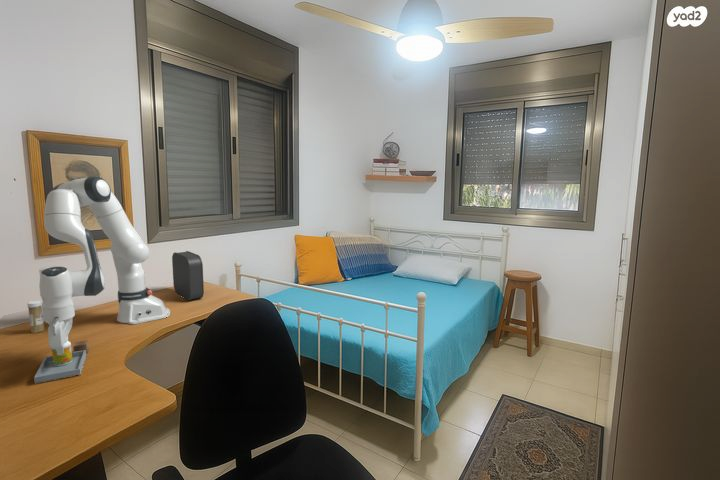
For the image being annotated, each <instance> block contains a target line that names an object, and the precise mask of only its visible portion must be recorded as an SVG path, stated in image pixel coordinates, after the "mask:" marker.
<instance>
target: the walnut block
mask: <svg viewBox="0 0 720 480" xmlns="http://www.w3.org/2000/svg"><path fill="white" fill-rule="evenodd" d="M72 346H73V352H77V351H83V350H86V355H88V353H89V342H88V340H80V341H74V343H73V345H72Z"/></svg>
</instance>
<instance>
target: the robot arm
mask: <svg viewBox="0 0 720 480" xmlns="http://www.w3.org/2000/svg"><path fill="white" fill-rule="evenodd" d="M87 206H89V207H90V210H91V212H92V213H93V215H94V217H95V220H96V221H97V223H98V225H99V227H100V228H101V230H102V232H103V233H104V234H105V235H106V237H107V238H108V239H109V240H110V242H111V243H110V247H109V248H110V252H111V254H112V259H113V263H114V268H115V271H116V275H117V276H116V277H117V287H118V291H117V301H118V314H117V317H116V321H117V322H118V323H122V324H130V325H137V324H142V323H147V322H153V321H157V320H161V319H165V318H166V317H167V318H168V317H170V315H171V310H170V308H168V307H166V306H165V303H164V301H163V300H162V299H160V298H159V297H157V296H154V295H152V294H153V292H152V290H151V288H150V287H146V274H145V273H146V272H145V270H144V268H143V265H142V263H144V262H145V261H146V260H147V259H148V258H149V257H150V248H149V247H148V246H147V244H146V243H145V242H144V241H143V239H142V237H141V236H140V234H139V233H138V232H137V230H136V229H135V227H134V226H133V225H132V223H131V221H130V219H129V217H128V216H127V214H126V211H125V210H124V208H123V206H122V205H121V203H120V201H119V200H118V198H117V197H116V195H115V194H114V193H113V192H112V190H111V186H110V184H109V182H108V181H106V180H105V179H104V178H103V177H102V176H101V177H100V176H89V177H82V178H77V179H73V180H69V181H67V182H62V183H59V184H57V185H56V186H54V187H53V188H52V189H51V191H50V192H49V193H48V194H47V196H46V199H45V205H44V210H43V211H44V214H43V224H44V229H45V232H47V234H49V236H51V237H53V238H54V239H57V240H58V241H62V242H66V243H70V244H74V245H77V246H79V247H80V248H81V249H82V252H83V255H84V260H85V265H86V269H84V270H83V269H82V270H70V271H69V269H68V268H67V267H65V266H50V267H51V268H47V269H45V270H43V271H42V272H41V274H40V273H39V295H40V297H41V303H42V305H41V308H42V314H43V322H48V323H47V324H48V325H49V326H48V329H47V330H48V331H47V334H48V335H47V337H48V346H49V348H50V349H51V350H52V348H55V349H56V351H57V355H63V354H64V348H63V345H64V343H65V340H66V338H67V336H68V337H69V334H70V332H71V329H72V328H73V320H74V319H73V318H74V317H75V315H76V311H75V302H74V299H73V297H75V298H76V297H95V296H97V295H99V294H101V293H102V292H103V291H104V290H105V287H106V278H105V275H104V274H103V271H102V268H101V264H100V259H99V255H98V250H97V247H96V244H95V240H94V236H93V233H92V232H91V230H89V229H88V228H85V227H84V224H83V223H82V213H81V208H83V207H87Z"/></svg>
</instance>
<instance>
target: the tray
mask: <svg viewBox="0 0 720 480" xmlns="http://www.w3.org/2000/svg"><path fill="white" fill-rule="evenodd" d="M87 355H88V354H86V350H83V351H77V352H74V351H72V362H71V363H69V364H66V365H63V366H55V365H54V363H53V355H48V356H45V357H44V358H43V360H42V361H41V363H40V365H39V368H38V369H37V372H36V373H35V375H34V377H33V380H34V384H35V383H39V384H41V383H40V382H44V381H50V380H55V379H60V378H64V377H69V376H74V375H79V374H81V375H82V372H83V369H84V366H83V364H84V365H85V362H84V361H86V359H87ZM82 368H83V369H82ZM81 371H82V372H81ZM60 380H61V379H60ZM55 381H56V380H55ZM50 382H51V381H50Z"/></svg>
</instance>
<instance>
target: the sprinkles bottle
mask: <svg viewBox="0 0 720 480" xmlns="http://www.w3.org/2000/svg"><path fill="white" fill-rule="evenodd" d="M42 303H43V302H42V300H39V299H37V300H32V301H31V300H30V301H28V302H27V308H28V309H27V310H28V318H29V325H30V333H33V334H38V333H41V332H43V331H45V326H44V321H43V314H42Z"/></svg>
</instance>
